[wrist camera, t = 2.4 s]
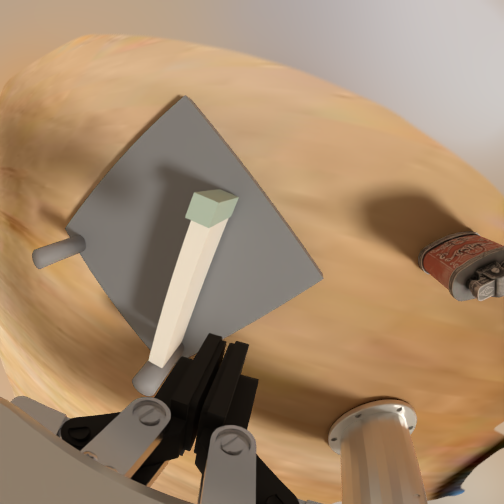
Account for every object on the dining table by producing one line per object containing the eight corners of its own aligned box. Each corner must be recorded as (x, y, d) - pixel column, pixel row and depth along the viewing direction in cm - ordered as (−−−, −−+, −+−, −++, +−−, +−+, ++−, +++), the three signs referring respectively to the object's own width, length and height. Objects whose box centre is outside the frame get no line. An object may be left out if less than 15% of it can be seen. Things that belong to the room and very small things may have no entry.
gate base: (322, 273, 26) (330, 318, 17) (171, 361, 32) (138, 408, 23) (191, 99, 24) (144, 69, 15) (72, 226, 30) (19, 242, 21)
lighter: (420, 277, 24) (467, 324, 14) (415, 246, 23) (467, 281, 14) (479, 255, 22) (535, 287, 13) (476, 225, 22) (537, 248, 12)
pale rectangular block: (183, 342, 28) (159, 375, 22) (168, 334, 28) (142, 365, 22) (238, 197, 23) (218, 202, 18) (219, 189, 23) (194, 192, 18)
